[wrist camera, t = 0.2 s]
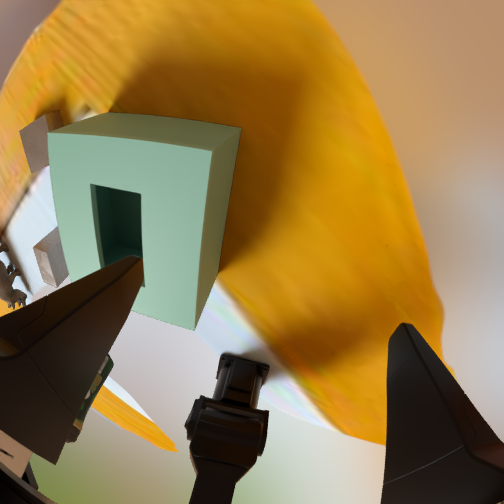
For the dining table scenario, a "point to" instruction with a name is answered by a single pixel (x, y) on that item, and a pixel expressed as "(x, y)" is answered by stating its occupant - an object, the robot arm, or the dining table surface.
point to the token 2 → (51, 259)
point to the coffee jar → (90, 398)
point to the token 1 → (39, 139)
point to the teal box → (146, 203)
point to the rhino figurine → (10, 284)
